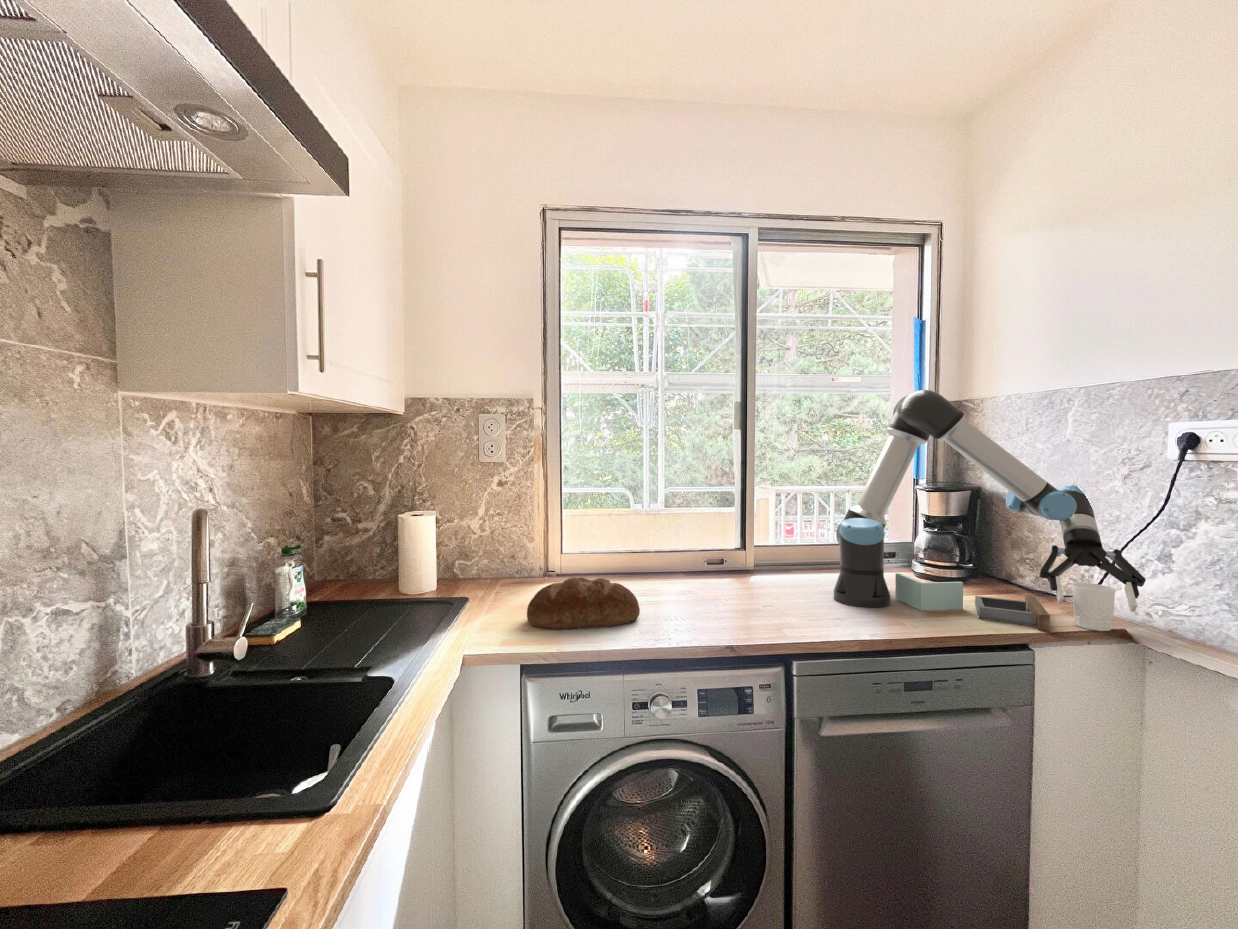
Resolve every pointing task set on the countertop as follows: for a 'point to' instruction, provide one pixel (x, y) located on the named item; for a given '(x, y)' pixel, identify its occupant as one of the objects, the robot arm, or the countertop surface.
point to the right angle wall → (929, 593)
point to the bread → (582, 605)
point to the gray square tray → (1004, 610)
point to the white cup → (1093, 606)
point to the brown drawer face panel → (1038, 613)
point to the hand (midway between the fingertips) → (1096, 605)
